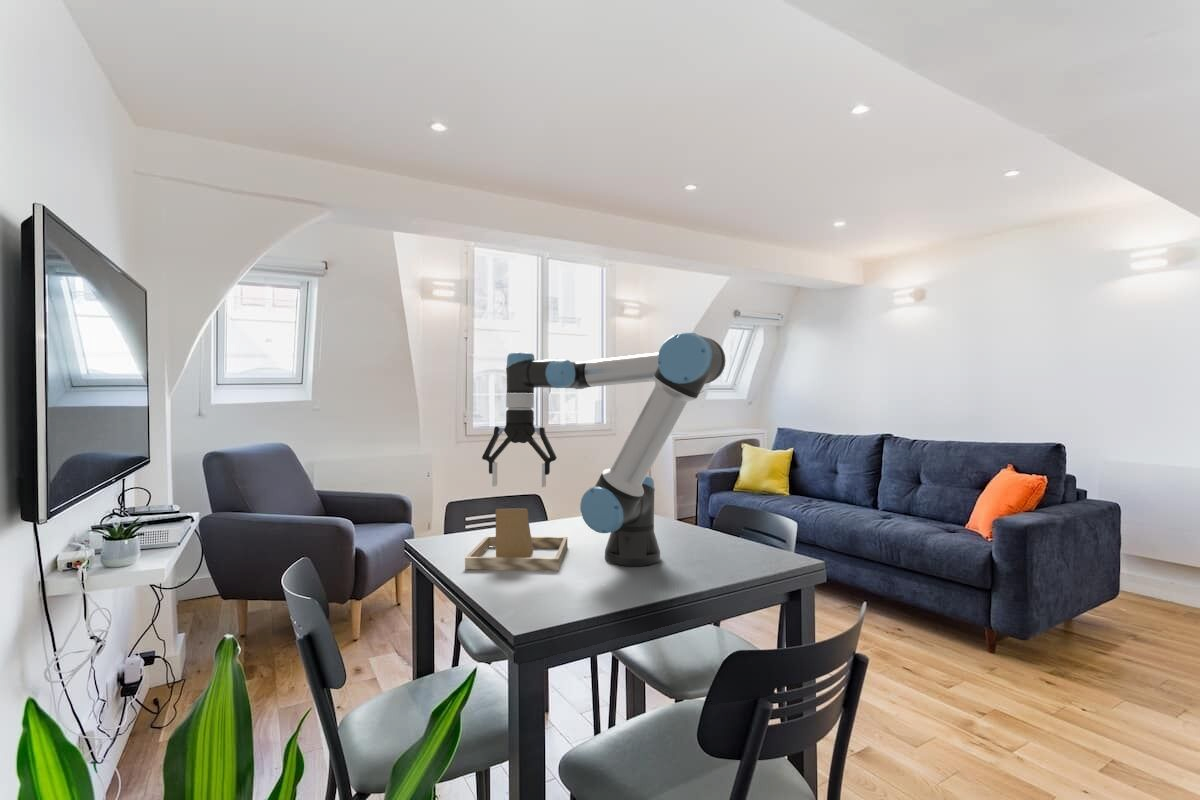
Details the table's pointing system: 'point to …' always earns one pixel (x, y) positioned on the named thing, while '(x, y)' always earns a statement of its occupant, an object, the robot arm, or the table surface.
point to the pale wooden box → (517, 563)
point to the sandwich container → (513, 533)
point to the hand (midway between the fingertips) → (519, 486)
